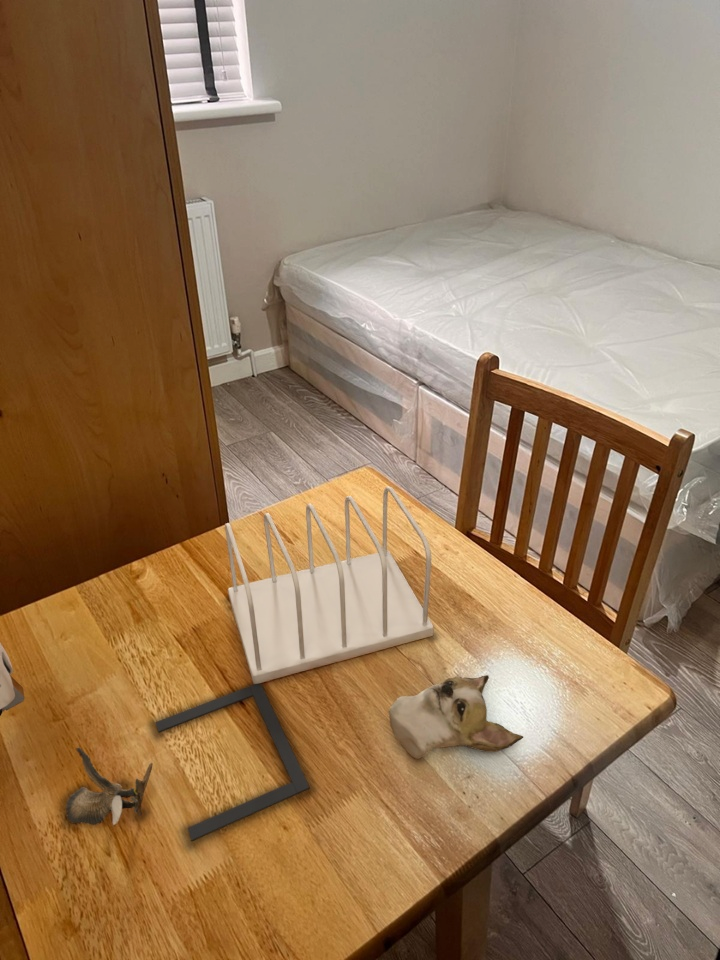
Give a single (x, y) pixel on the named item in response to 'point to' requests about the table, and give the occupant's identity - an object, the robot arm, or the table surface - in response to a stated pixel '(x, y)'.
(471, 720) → the ceramic sculpture
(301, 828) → the table surface
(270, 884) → the table surface
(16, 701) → the robot arm
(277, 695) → the table surface
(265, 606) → the file sorter
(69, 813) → the eagle figurine
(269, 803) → the frame
